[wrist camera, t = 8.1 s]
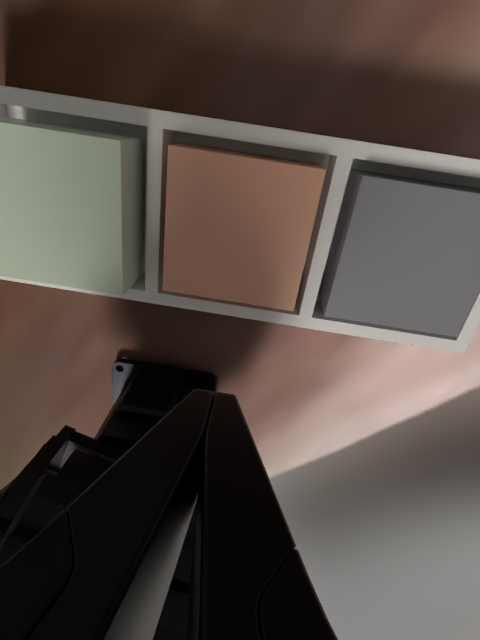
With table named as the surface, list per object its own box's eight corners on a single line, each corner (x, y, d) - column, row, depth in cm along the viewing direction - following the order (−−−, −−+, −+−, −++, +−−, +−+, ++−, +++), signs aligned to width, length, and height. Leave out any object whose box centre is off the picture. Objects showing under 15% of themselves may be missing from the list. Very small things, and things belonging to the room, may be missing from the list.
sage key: (141, 274, 18) (122, 295, 16) (20, 255, 18) (-15, 273, 16) (142, 138, 15) (120, 140, 13) (-2, 115, 15) (-48, 114, 13)
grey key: (435, 312, 19) (456, 337, 17) (318, 293, 19) (324, 316, 17) (488, 190, 16) (523, 200, 14) (351, 168, 16) (363, 175, 14)
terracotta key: (291, 289, 19) (293, 311, 17) (175, 270, 19) (162, 290, 17) (319, 163, 16) (326, 169, 14) (182, 142, 16) (167, 145, 14)
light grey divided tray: (439, 323, 20) (463, 353, 18) (28, 258, 21) (-8, 277, 18) (510, 164, 17) (555, 171, 14) (4, 85, 17) (-47, 78, 14)
